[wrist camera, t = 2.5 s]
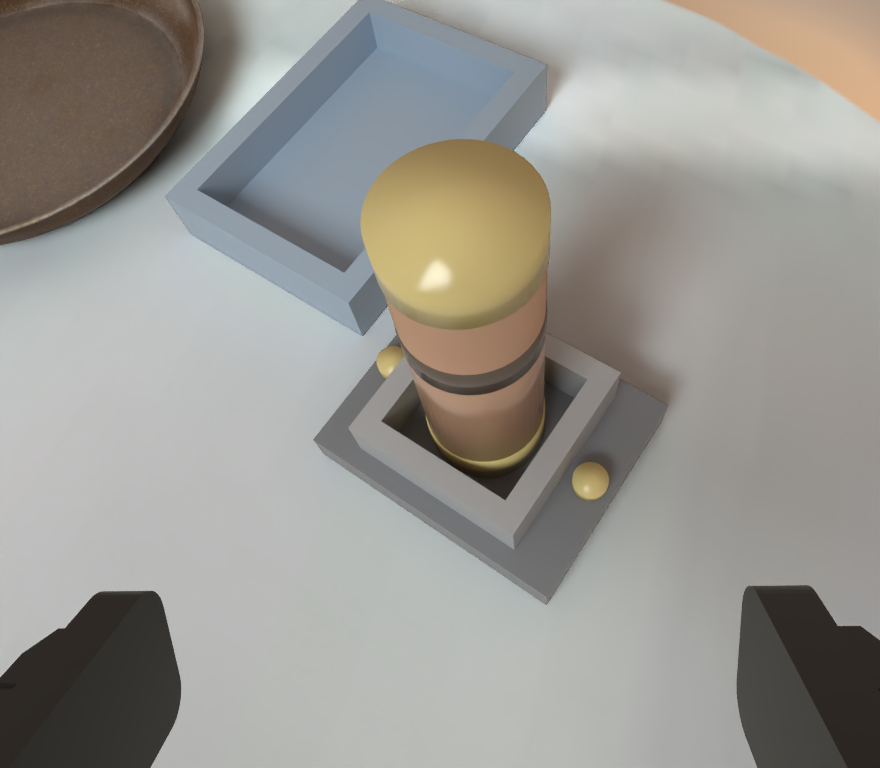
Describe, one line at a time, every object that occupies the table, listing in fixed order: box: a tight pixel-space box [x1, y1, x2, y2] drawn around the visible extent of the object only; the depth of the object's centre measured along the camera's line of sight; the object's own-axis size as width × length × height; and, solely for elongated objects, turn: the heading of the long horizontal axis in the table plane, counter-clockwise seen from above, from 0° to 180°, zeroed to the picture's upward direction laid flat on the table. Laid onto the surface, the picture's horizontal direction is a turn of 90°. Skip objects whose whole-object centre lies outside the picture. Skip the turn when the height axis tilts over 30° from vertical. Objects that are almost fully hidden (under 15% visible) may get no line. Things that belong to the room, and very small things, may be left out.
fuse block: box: [314, 333, 668, 605], centre depth 26 cm, size 10×8×4 cm
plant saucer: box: [0, 0, 204, 245], centre depth 37 cm, size 21×21×3 cm
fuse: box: [360, 139, 551, 477], centre depth 21 cm, size 4×4×12 cm
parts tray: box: [165, 0, 547, 336], centre depth 33 cm, size 10×14×3 cm
